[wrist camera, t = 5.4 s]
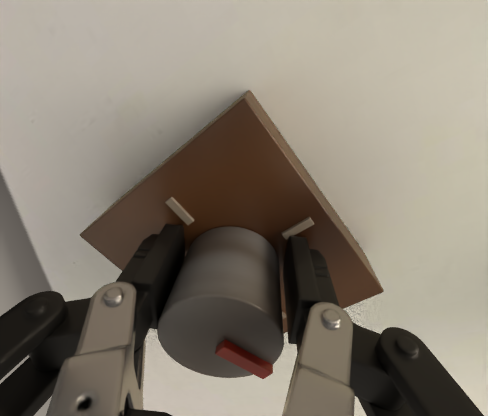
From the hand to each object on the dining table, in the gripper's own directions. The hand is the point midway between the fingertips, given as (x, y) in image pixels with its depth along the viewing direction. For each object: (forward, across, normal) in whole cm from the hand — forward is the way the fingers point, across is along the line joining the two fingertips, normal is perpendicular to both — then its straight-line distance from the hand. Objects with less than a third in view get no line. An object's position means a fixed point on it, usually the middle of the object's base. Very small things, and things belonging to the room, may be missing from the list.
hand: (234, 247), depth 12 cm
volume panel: (+3, 0, +1) cm, 3 cm away
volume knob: (0, 0, +1) cm, 1 cm away
